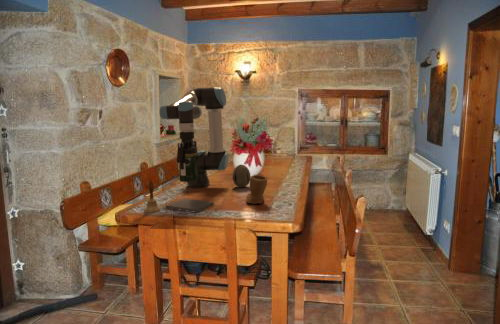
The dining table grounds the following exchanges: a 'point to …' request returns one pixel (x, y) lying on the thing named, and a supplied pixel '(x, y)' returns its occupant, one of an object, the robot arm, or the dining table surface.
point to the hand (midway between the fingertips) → (188, 173)
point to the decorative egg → (241, 176)
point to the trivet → (190, 205)
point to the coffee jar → (190, 165)
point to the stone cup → (257, 189)
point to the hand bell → (151, 200)
